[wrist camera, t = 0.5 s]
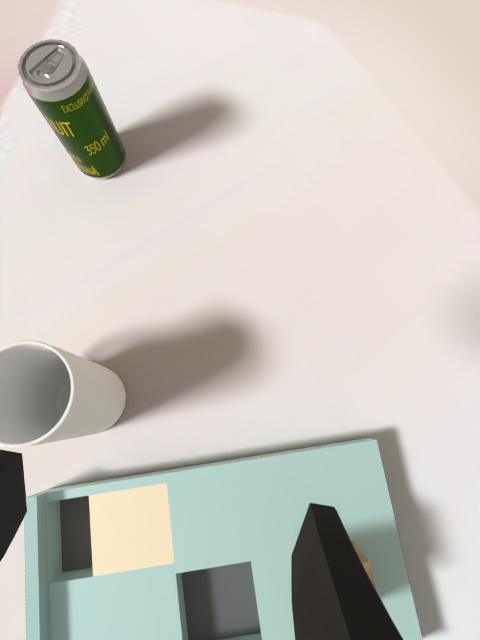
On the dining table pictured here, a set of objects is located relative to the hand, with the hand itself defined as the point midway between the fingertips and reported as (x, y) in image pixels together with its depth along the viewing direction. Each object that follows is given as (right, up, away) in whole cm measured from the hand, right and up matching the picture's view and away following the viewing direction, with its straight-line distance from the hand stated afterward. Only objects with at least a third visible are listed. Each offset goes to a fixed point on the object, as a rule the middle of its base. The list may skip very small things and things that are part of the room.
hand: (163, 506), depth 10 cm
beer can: (-13, +22, +33) cm, 42 cm away
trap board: (0, -16, +23) cm, 28 cm away
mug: (-13, -2, +27) cm, 30 cm away
